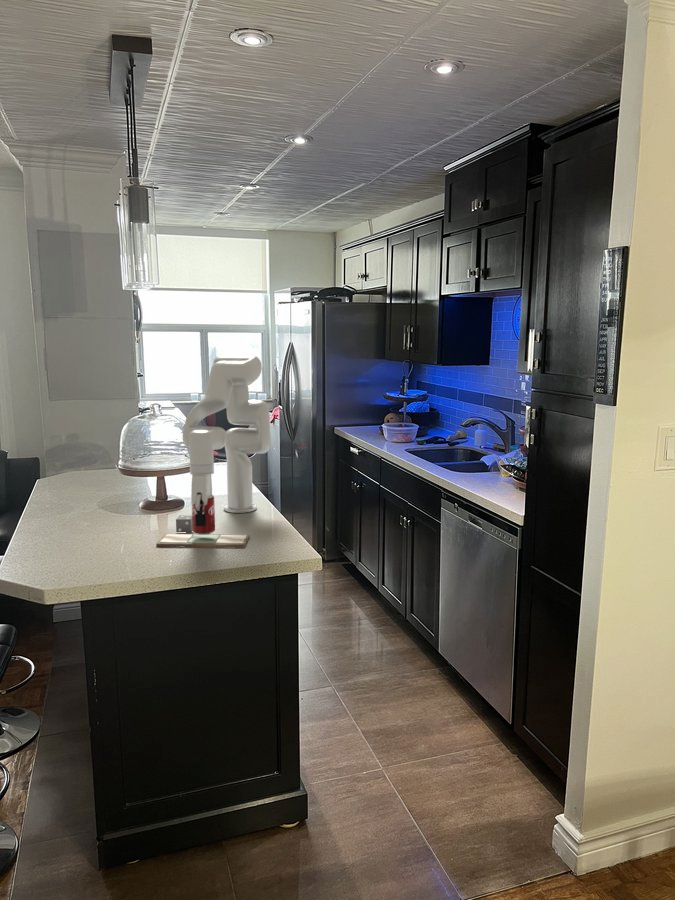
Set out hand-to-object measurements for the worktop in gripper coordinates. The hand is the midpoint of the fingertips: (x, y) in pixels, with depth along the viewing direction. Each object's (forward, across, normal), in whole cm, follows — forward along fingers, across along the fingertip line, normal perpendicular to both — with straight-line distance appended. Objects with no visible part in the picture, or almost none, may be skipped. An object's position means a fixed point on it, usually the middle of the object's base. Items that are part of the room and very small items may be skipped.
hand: (203, 522), depth 216 cm
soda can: (+4, 0, 0) cm, 4 cm away
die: (+7, -12, -9) cm, 16 cm away
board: (+7, 0, 0) cm, 7 cm away
